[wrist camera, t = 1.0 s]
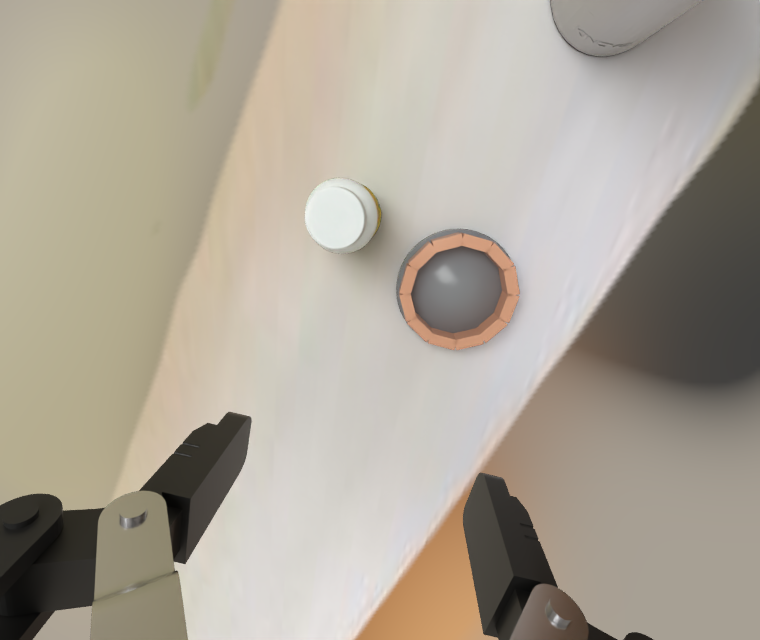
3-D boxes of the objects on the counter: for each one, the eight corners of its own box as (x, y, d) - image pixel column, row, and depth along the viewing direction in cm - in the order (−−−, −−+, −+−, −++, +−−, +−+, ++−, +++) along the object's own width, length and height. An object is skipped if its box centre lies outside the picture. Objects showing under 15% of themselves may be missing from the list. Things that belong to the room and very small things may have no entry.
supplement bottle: (328, 177, 32) (299, 164, 23) (387, 190, 32) (383, 183, 23) (318, 238, 33) (289, 250, 24) (375, 250, 33) (366, 266, 24)
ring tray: (415, 214, 32) (416, 215, 30) (531, 247, 33) (542, 250, 30) (383, 326, 36) (382, 335, 33) (489, 354, 36) (496, 365, 33)
